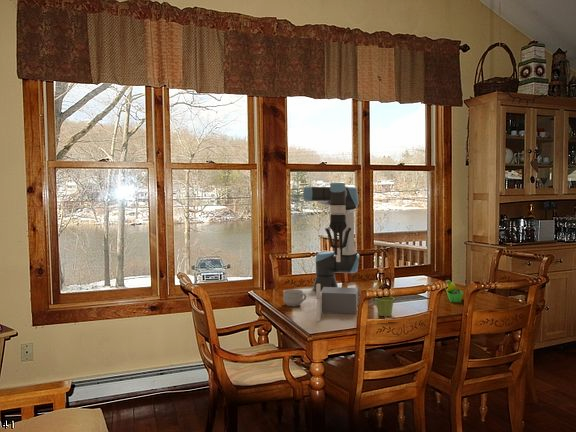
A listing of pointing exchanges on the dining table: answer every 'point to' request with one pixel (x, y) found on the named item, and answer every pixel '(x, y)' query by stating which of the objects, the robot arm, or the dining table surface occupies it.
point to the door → (319, 301)
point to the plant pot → (385, 306)
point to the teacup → (293, 297)
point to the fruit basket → (453, 292)
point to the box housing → (339, 300)
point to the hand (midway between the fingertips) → (338, 261)
